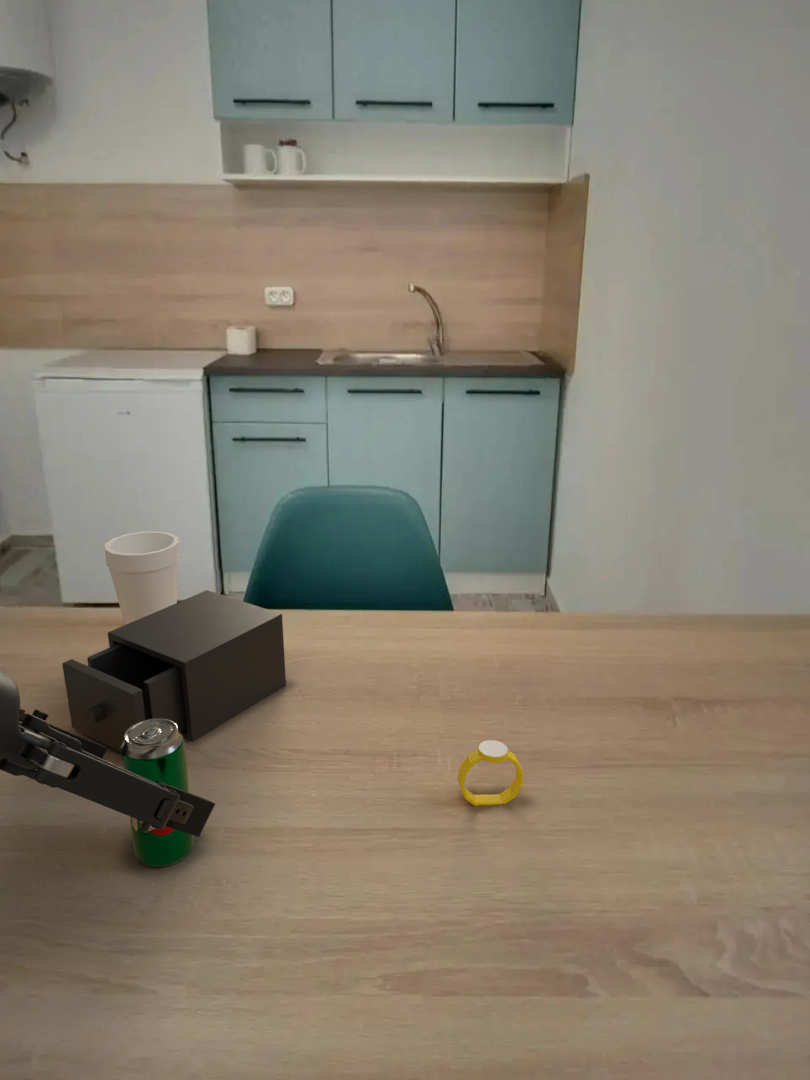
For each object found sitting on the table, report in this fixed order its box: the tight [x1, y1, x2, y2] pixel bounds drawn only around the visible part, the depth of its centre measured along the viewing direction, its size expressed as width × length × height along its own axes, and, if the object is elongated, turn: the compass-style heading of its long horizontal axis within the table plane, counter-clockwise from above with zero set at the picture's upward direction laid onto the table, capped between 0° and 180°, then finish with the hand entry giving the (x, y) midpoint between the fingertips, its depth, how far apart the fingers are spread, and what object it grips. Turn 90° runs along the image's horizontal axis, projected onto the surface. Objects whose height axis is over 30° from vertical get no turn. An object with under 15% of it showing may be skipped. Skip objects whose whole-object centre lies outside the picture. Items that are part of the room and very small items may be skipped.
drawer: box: [61, 643, 187, 753], centre depth 90 cm, size 15×11×8 cm
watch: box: [457, 739, 524, 807], centre depth 78 cm, size 6×3×6 cm, turn 98°
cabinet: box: [107, 589, 287, 743], centre depth 95 cm, size 15×13×10 cm
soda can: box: [120, 718, 195, 868], centre depth 70 cm, size 5×5×12 cm
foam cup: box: [104, 530, 181, 625], centre depth 111 cm, size 10×9×13 cm
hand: (148, 788), depth 69 cm, fingers open, 13 cm apart
